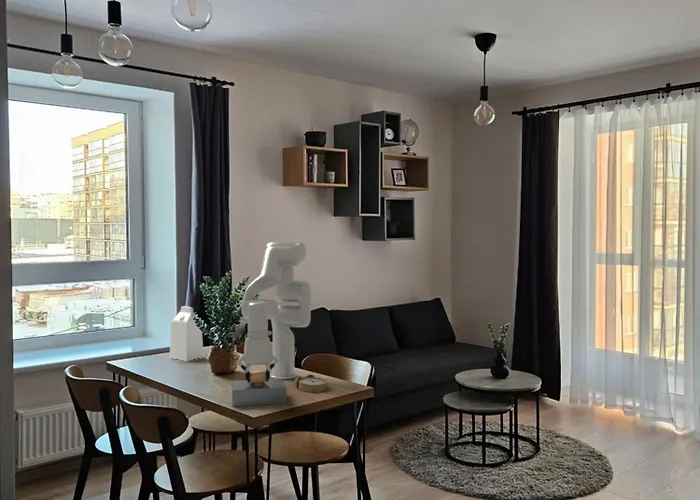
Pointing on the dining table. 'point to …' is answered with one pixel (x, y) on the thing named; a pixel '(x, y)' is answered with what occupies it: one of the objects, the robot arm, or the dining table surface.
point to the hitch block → (258, 393)
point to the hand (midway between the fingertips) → (257, 381)
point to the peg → (257, 378)
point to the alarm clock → (310, 383)
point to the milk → (185, 336)
